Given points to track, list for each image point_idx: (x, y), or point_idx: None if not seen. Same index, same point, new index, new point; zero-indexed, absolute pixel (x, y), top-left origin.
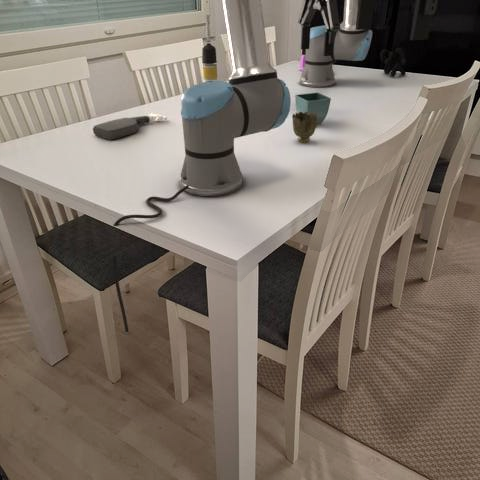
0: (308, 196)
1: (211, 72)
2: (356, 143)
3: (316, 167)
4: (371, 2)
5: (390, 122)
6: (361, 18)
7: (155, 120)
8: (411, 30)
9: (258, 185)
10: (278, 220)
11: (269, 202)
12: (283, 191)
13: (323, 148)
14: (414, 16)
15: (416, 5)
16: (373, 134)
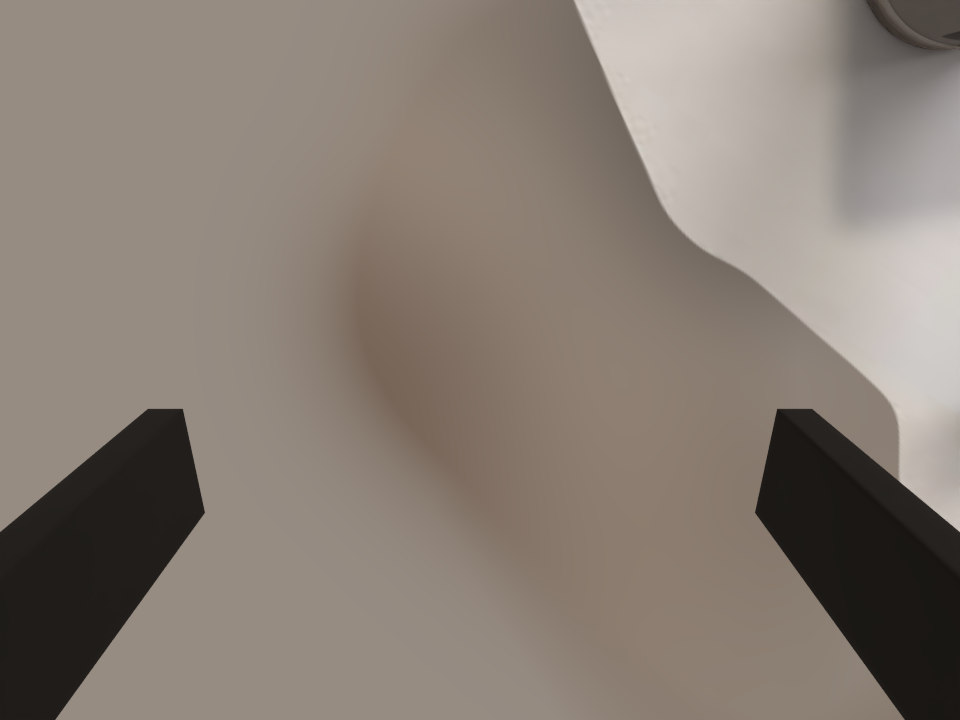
0: (698, 199)
1: None
2: None
3: (843, 324)
4: (872, 633)
5: None
6: (816, 470)
7: None
8: (146, 436)
9: (850, 88)
10: (621, 37)
11: (730, 66)
12: (767, 145)
13: (942, 417)
14: (83, 493)
15: (16, 549)
16: None
